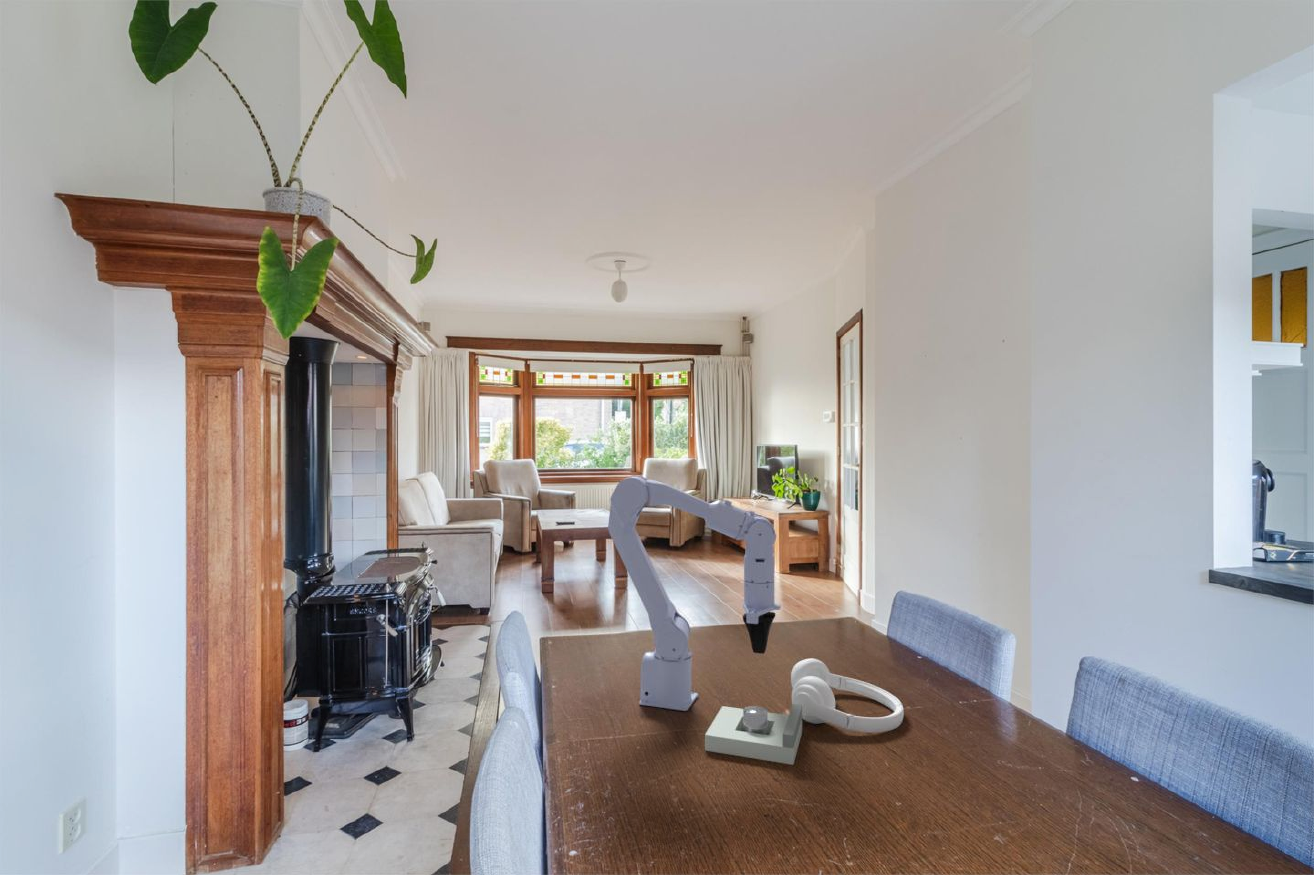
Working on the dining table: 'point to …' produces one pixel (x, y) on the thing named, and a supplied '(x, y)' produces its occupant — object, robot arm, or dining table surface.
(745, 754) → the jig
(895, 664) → the dining table surface
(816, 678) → the headphones
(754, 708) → the peg
